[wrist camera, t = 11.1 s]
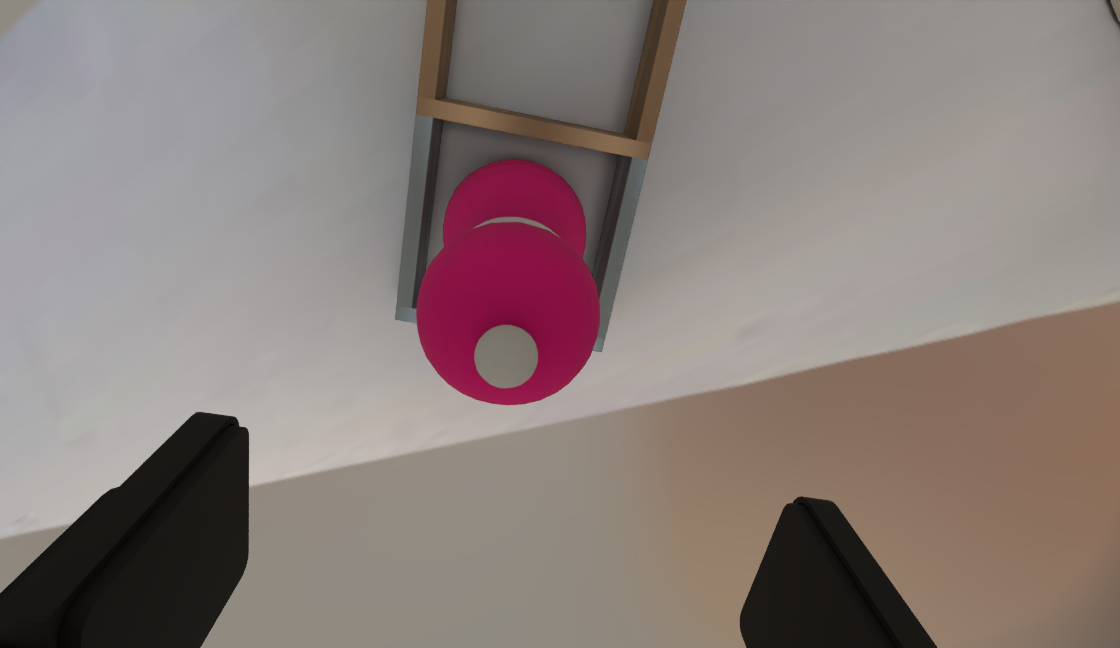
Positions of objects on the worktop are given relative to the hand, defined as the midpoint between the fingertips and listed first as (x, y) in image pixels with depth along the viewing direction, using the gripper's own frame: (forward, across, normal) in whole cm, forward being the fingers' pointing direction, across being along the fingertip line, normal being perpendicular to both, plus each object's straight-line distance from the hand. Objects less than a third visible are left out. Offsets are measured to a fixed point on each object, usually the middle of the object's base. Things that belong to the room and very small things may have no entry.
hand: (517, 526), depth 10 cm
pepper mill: (+26, +1, 0) cm, 26 cm away
